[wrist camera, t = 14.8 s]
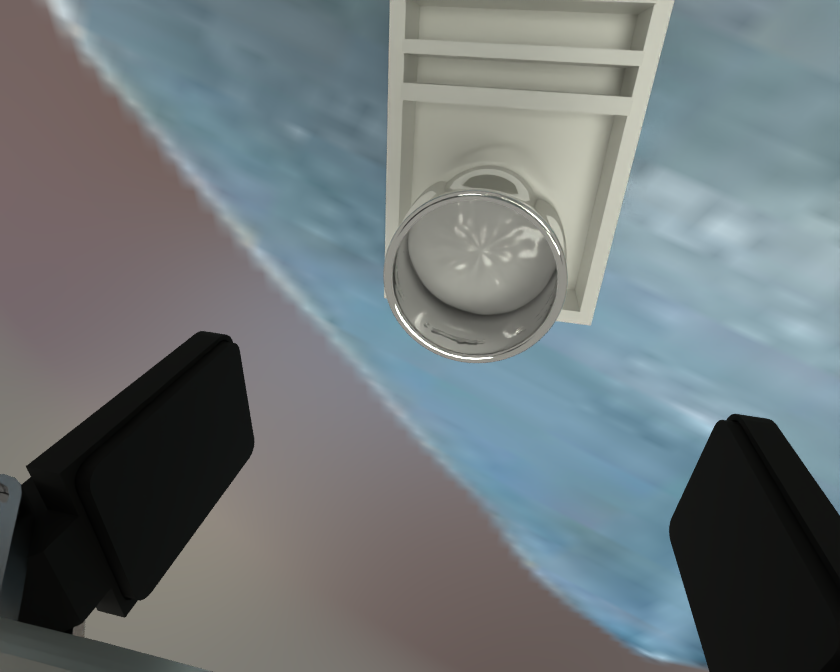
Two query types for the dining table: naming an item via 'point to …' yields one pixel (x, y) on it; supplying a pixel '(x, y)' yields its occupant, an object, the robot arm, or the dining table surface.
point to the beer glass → (479, 260)
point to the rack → (526, 106)
